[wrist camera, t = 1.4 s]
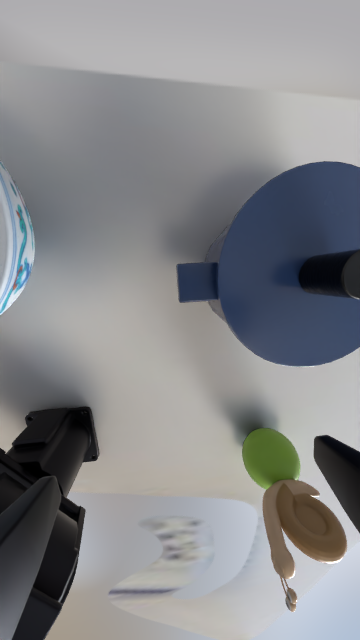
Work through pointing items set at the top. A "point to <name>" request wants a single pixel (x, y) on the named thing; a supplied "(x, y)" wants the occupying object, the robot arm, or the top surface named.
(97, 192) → the top surface
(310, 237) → the pot lid
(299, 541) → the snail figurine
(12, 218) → the chinaware
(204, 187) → the top surface
